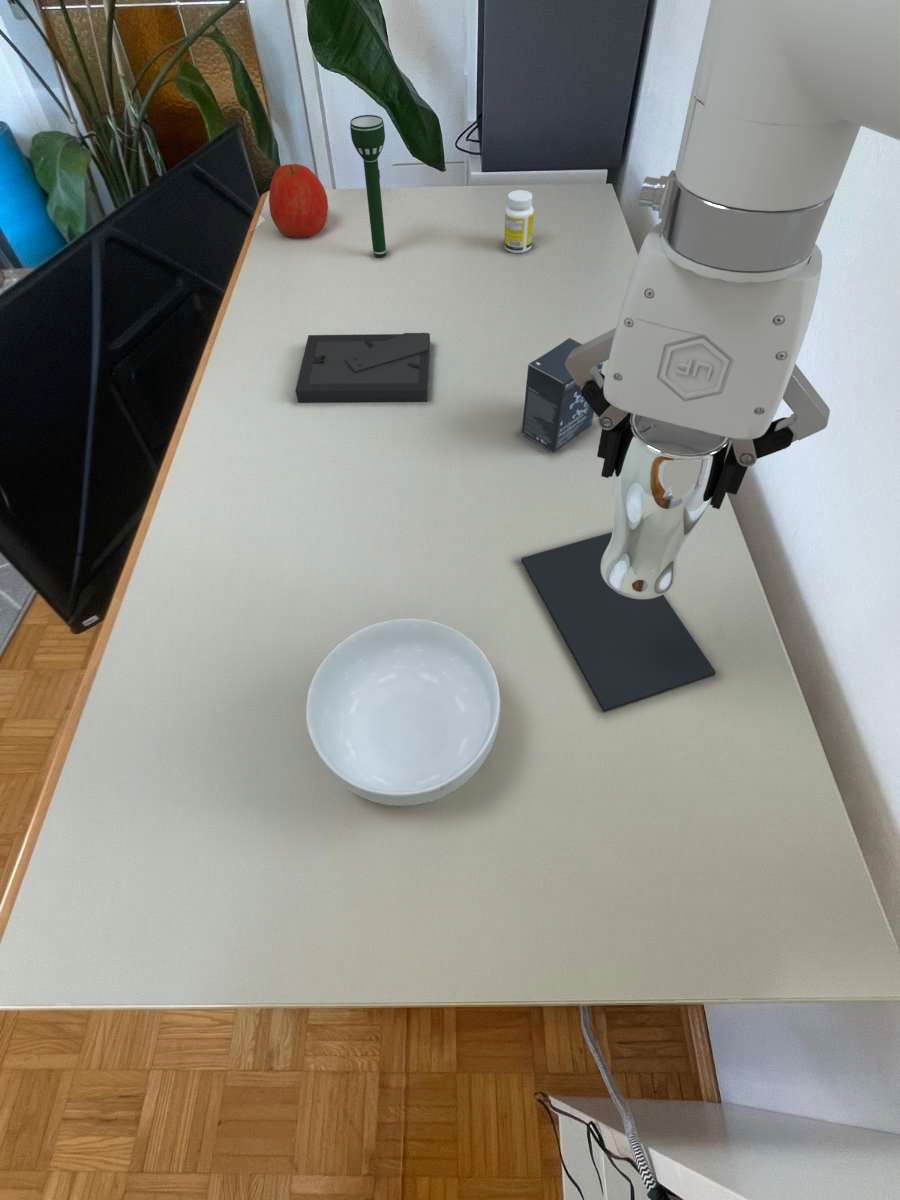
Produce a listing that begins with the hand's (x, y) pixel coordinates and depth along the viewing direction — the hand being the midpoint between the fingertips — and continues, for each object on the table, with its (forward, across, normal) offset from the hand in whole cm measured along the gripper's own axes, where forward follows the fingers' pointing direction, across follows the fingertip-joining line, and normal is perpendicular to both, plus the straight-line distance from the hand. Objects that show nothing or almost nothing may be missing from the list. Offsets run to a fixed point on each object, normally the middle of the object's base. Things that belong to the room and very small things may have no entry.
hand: (664, 478), depth 49 cm
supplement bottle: (+25, -39, +75) cm, 88 cm away
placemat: (+25, -2, +6) cm, 25 cm away
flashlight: (+25, -60, +64) cm, 91 cm away
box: (+25, -17, +32) cm, 44 cm away
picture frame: (+25, -46, +33) cm, 62 cm away
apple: (+25, -78, +67) cm, 105 cm away
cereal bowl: (+25, -15, -15) cm, 32 cm away
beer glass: (+10, 0, 0) cm, 10 cm away
